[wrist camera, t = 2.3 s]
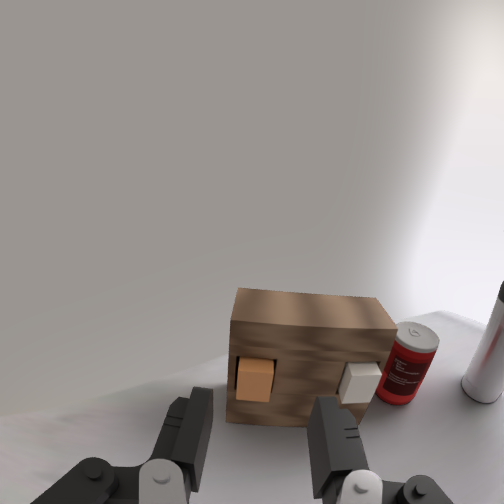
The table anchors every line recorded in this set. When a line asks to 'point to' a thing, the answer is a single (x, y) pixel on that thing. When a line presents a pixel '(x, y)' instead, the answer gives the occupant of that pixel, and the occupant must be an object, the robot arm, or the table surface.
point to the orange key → (254, 379)
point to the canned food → (407, 363)
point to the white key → (358, 382)
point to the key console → (303, 350)
